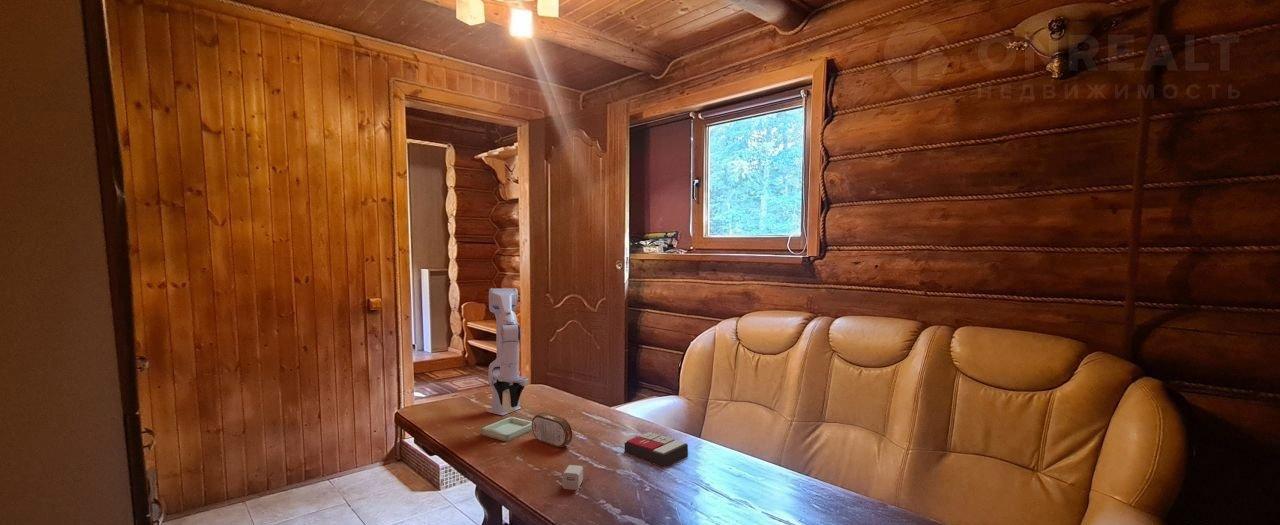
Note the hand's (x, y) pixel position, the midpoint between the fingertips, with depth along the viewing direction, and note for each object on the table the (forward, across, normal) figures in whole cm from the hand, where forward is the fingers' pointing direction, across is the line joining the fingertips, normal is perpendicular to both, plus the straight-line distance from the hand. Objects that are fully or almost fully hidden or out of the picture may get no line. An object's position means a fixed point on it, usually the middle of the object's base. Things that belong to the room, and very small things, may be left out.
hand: (509, 405), depth 154 cm
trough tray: (+8, 0, 0) cm, 8 cm away
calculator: (+9, +48, +10) cm, 50 cm away
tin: (+9, +18, 0) cm, 20 cm away
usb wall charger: (+9, +39, -17) cm, 43 cm away
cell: (+2, 0, 0) cm, 2 cm away
